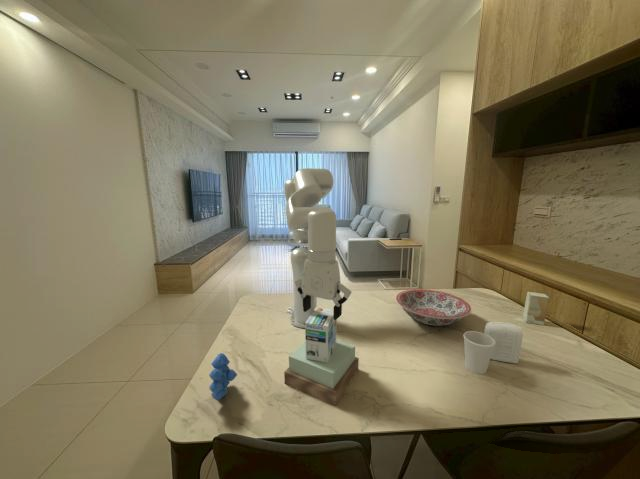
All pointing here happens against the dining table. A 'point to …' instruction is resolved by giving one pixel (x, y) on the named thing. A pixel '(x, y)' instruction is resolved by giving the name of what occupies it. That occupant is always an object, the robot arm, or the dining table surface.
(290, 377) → the tower base block
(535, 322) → the skincare box
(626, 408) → the dining table surface
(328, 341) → the light bulb box
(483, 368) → the dixie cup
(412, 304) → the ceramic bowl
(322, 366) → the tower top block
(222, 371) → the grapes
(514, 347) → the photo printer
